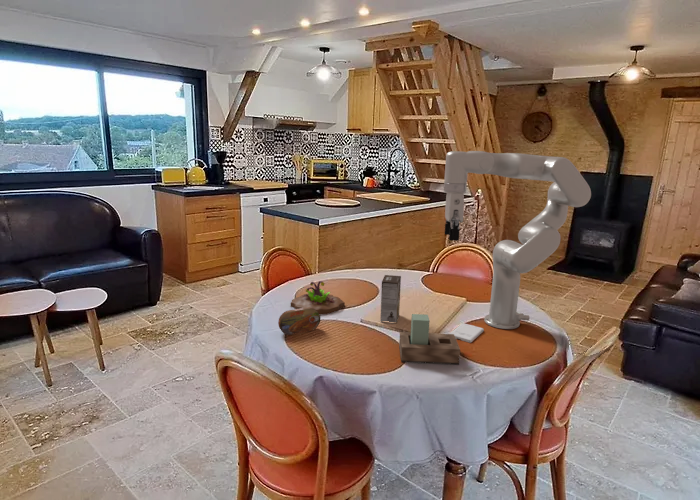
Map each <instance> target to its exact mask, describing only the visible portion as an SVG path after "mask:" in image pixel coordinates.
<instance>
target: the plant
mask: <svg viewBox="0 0 700 500" xmlns="http://www.w3.org/2000/svg"><path fill="white" fill-rule="evenodd" d="M309 285H310V287H307V288H306V289H305V292H306V293H305V294H302V295H300V296H298V297H294V298H293V299H292V300H291V301H290V308H293V309H294V310H295V309H300V308H306V307H311V308H314V309H315V310H317V311H318V312H319V314H320V316H321V315H328V314H333V313H336V312H339V310H340V309H342V308H345V307H346V305H345V302H344V301H343V300H342V299H341V298H339V297H338V296H334V295H333V294H331V291H328V292H325V290H324V289H322V288H320V287H321V286H322V287H324V286H325V282H324V281H322V280H319V281H318V282H317V285H316V283H315V282H314V281H311V282H310V283H309ZM311 286H314V287H311ZM310 289H311V291H310Z"/></svg>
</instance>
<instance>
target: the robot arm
mask: <svg viewBox="0 0 700 500" xmlns="http://www.w3.org/2000/svg"><path fill="white" fill-rule="evenodd" d="M444 167H445V168H444V183H443V193H444V194H446V196H445V197H446V198H445V209H444V210H445V211H444V217H445V218H444V219H445V226H444V235H446V236H447V235H448V240H449V241H455V242H456V241H457V242H458V241H459V239H460V226H461V225H460V224H461V223H463V222H464V214H465V213H464V211H465V209H464V207H465V206H464V205H465V204H464V203H465V197H464V195H465V194H467V186H468V174H469V173H470V174H471V173H472V174H476V175H494V176H499V177H502V178H503V177H504V178H509V179H510V178H511V179H520V180H530V181H532V180H533V181H542V182H543V181H544V182H552V183H551V184H550V186H549V187H548V189H547V198H546V199H547V200H546V205H545V206H544V209H543V210H542V211H541V212H539V213H538V214H537V215H536V216H535V217H533V218H532V219H531V220H530V221H529V222H527V223H526V224H525V225H523V226H522V227H521V228H520V230H519V231H518V233H517V238H518V241H519V242H520V243H519V242H517V241H515V240H511V239H504V240H501V241H499V242H497V243H496V245H495V246H494V247H493V250H492V265H493V266H492V268H493V269H492V271H493V272H492V273H493V274H492V283H491V293H490V301H489V313H488V314H486V315H485V316H484V319H483V320H484V322H485V323H486V324H487V326H490V327H493V328H496V329H502V330H513V329H517V328H519V327H520V324H521V322H520V321H530V315H528V314H527V315H526V314H524V313H522V312H521V313H518V311H517V310H518V302H519V293H520V284H521V274H527V273H529V272H530V271H532V270H534V269H535V268H536V267H538V266H539V265H540V264H541V263H543V262H544V261H545V260H546V259H548V258H549V257H550V256H551V255H553V253H555V252H556V250H558V249H559V246H560V243H561V233H560V232H559V230H560V228H561V227H563V225H564V224H565V223H566V221H567V217H568V212H569V207H572V208H580V207H584V206H585V205H587V204H588V203H589V201H590V199H591V197H592V191H591V188H590V185H589V184H588V182H587V181H586V179H585V178H584V177H583V175H582V174H581V173H580V171H579V170H578V168H577V167H576V166H575V165H574V164H573V162H572V161H571V160H570V159H568V158H567V157H564V156H563V157H562V156H548V155H539V154H530V153H529V154H527V153H521V152H520V153H518V152H506V153H505V152H504V153H502V152H496V153H495V152H487V151H483V150H482V151H481V150H469V151H459V150H458V151H454V150H453V151H448V152H447V153H446V155H445V166H444Z"/></svg>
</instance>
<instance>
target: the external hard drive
mask: <svg viewBox="0 0 700 500" xmlns="http://www.w3.org/2000/svg"><path fill="white" fill-rule="evenodd" d="M484 331H485V330H484V328H483V327H480V326H477V325H473V324H467V323H465V322H463V323H460V325H458V326H457V327H456V328H455V329H453V330H452V331H451V332H449V334H454V336H455V338H456V340H460V341H462V342H466V343H469V344H470V343H472V342H473V341H475V339H477V338H478V337H479V336H480V335H481V334H482V333H483V332H484Z"/></svg>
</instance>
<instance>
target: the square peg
mask: <svg viewBox="0 0 700 500" xmlns="http://www.w3.org/2000/svg"><path fill="white" fill-rule="evenodd" d="M410 321H411V323H410V333H411V338H410V344H418V345H428V337H429V333H430V317H429V315H428V314H424V313H423V314H422V313H421V314H419V313H418V314H417V313H412V314H411V320H410Z"/></svg>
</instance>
